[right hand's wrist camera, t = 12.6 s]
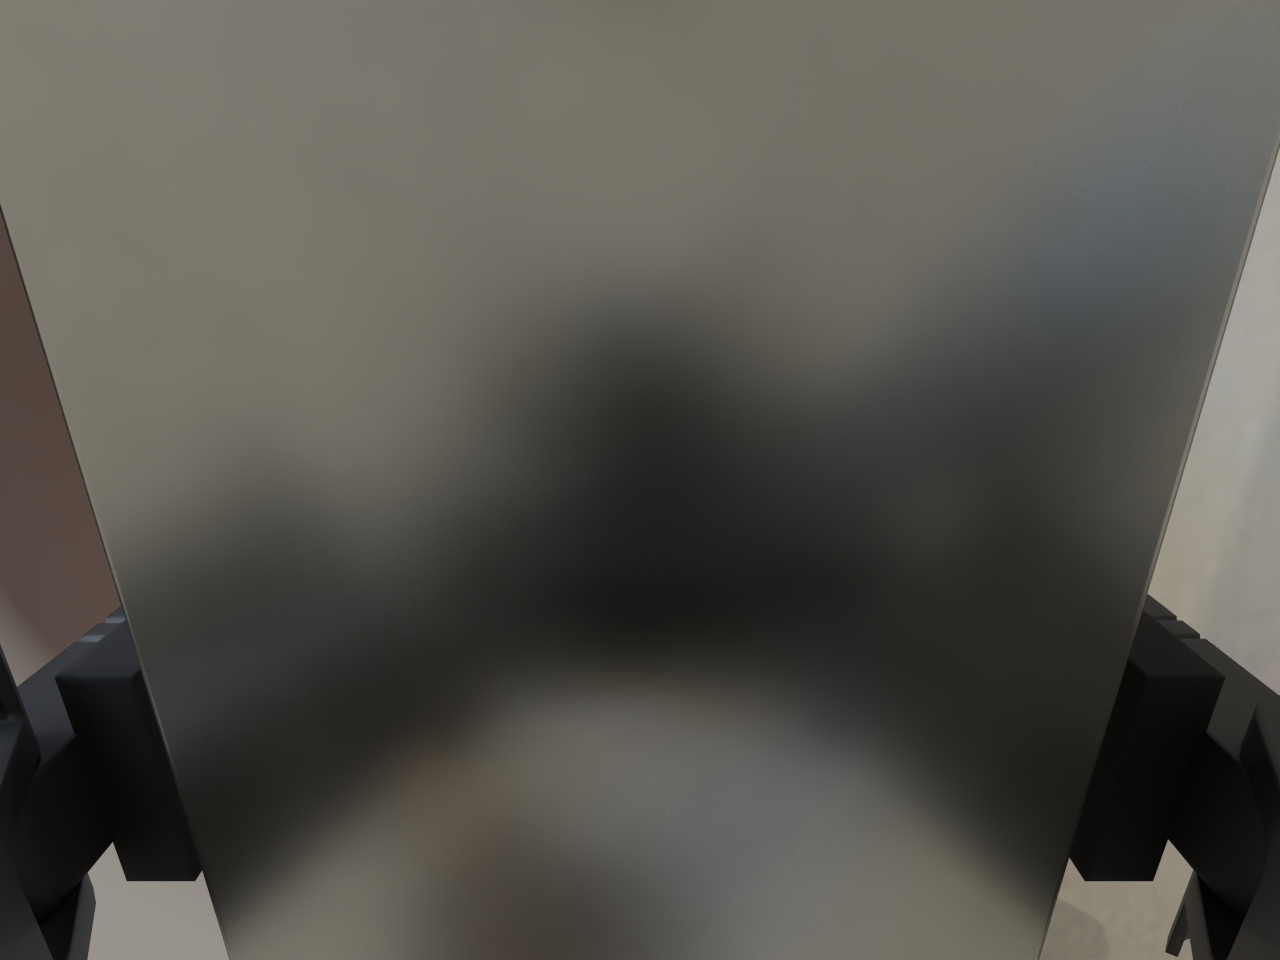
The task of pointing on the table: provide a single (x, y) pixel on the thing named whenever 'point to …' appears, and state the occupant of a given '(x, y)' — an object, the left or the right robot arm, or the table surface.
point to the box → (633, 441)
